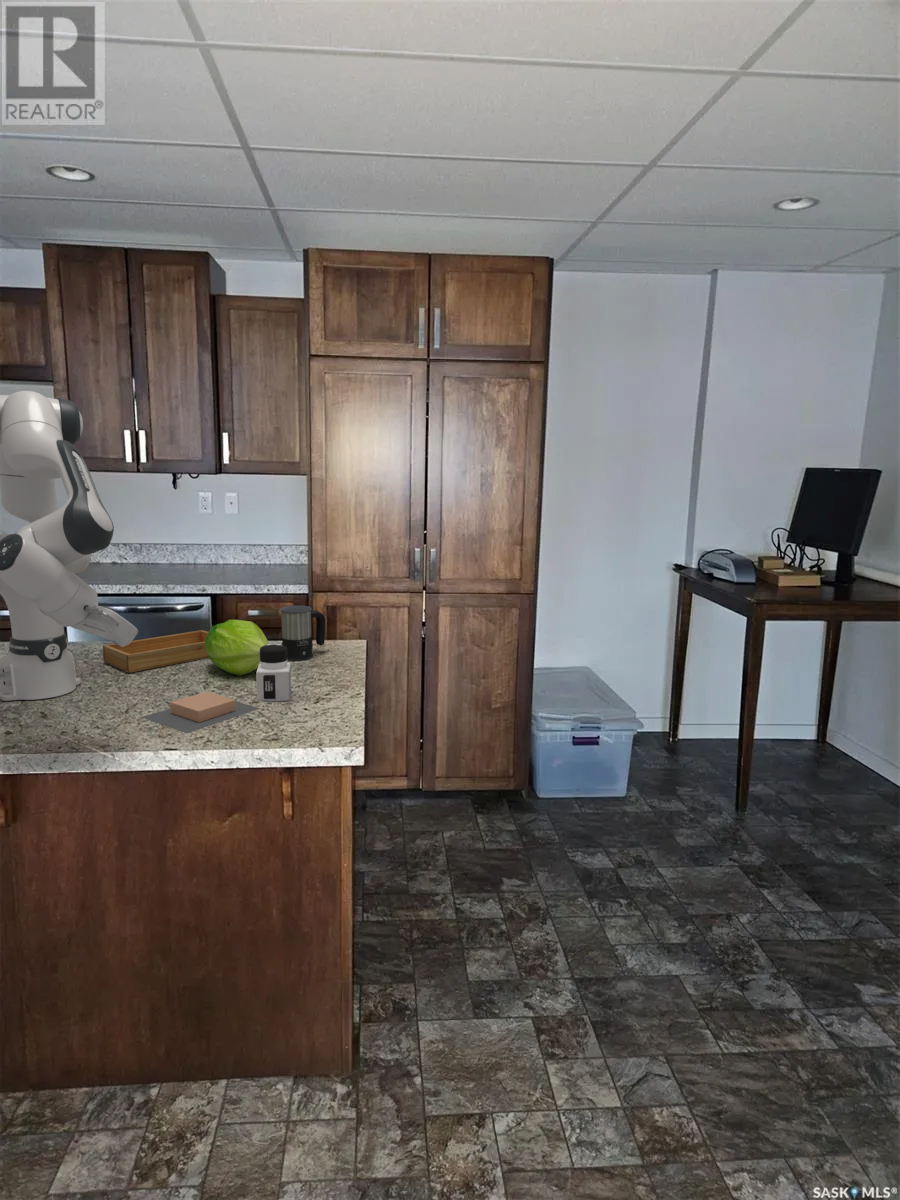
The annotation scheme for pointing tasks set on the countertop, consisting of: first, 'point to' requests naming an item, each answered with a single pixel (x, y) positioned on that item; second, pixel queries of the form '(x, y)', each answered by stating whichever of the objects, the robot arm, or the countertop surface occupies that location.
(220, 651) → the lettuce
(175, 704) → the block
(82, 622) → the robot arm
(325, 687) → the countertop surface
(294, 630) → the milk frother
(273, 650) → the container
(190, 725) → the mat
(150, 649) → the tray
